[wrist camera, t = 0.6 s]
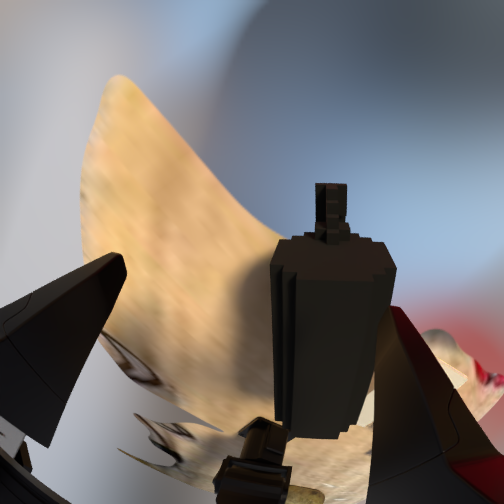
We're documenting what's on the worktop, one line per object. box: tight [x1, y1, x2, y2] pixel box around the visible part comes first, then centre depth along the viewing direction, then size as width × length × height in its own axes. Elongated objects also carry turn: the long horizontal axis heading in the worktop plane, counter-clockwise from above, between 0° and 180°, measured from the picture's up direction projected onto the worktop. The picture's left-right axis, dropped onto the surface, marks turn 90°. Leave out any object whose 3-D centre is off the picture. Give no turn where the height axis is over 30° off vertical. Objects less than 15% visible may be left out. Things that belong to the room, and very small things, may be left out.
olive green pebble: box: [285, 485, 325, 504], centre depth 44 cm, size 14×13×5 cm
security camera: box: [270, 183, 397, 439], centre depth 20 cm, size 7×18×10 cm, turn 4°
